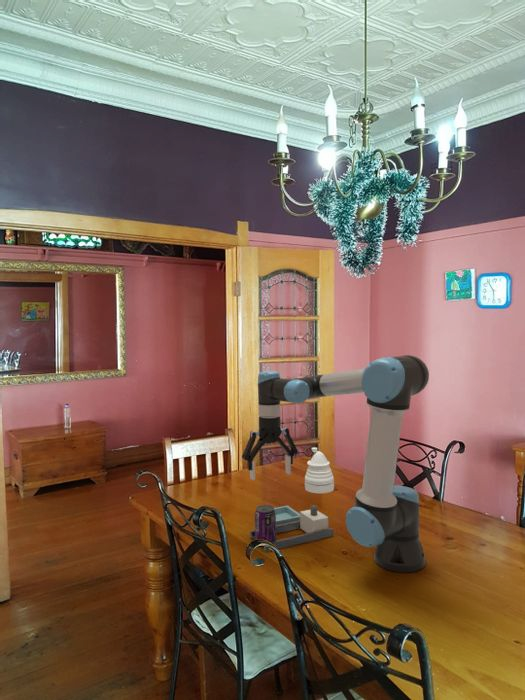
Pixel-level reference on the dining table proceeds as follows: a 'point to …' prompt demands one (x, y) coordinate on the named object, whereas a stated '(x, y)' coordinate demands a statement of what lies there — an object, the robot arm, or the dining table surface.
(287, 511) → the tray
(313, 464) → the honey pot
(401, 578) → the dining table surface
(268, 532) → the beverage can
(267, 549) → the slide track
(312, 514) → the slider
